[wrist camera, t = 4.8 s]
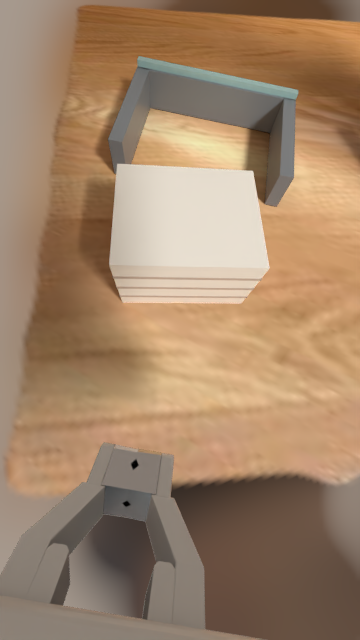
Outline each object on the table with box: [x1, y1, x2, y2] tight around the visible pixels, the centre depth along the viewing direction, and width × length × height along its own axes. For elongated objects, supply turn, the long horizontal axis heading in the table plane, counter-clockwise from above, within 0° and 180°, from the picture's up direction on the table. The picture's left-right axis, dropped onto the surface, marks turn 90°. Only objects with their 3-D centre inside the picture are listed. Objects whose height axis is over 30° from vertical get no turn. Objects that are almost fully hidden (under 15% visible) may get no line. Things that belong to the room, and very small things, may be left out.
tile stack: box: [109, 164, 269, 303], centre depth 23 cm, size 12×10×7 cm
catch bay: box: [108, 56, 298, 207], centre depth 30 cm, size 20×14×5 cm
